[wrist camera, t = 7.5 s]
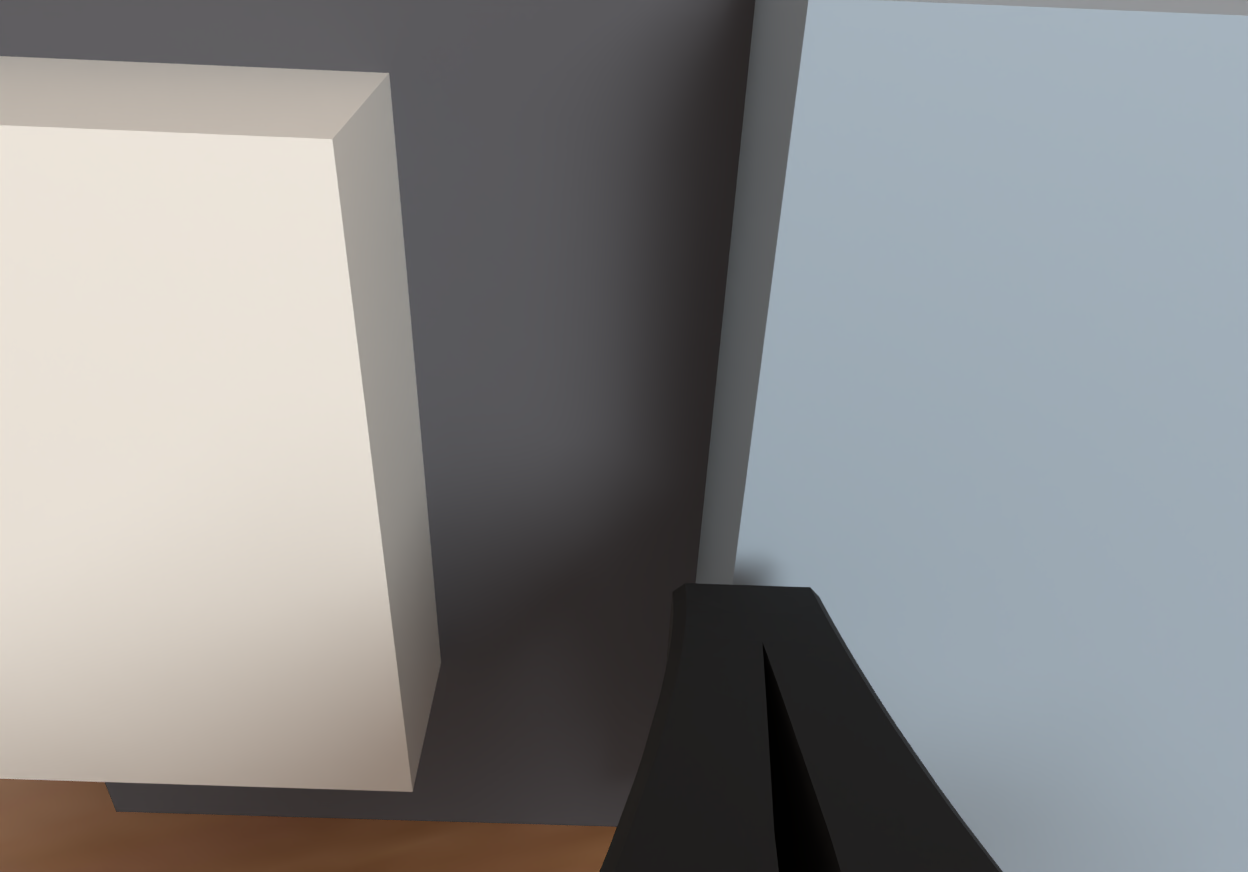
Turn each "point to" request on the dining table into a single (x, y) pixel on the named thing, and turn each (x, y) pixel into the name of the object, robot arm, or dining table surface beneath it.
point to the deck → (1007, 400)
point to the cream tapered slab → (208, 431)
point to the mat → (518, 353)
